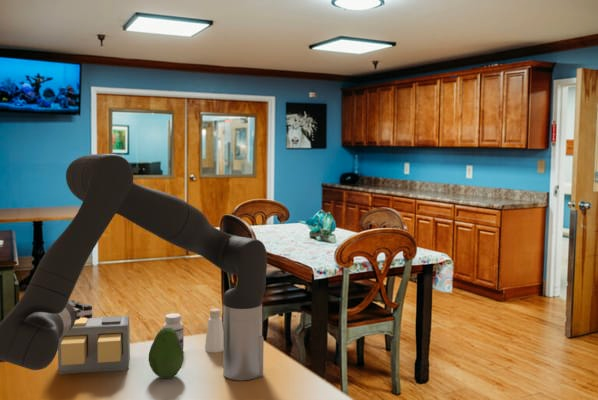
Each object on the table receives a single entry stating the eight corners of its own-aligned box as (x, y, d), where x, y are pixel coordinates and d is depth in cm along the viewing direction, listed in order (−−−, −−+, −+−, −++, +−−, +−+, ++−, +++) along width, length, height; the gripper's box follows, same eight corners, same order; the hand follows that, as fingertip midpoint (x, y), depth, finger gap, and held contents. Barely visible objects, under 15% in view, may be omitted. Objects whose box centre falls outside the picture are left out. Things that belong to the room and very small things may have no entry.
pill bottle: (160, 348, 158) (160, 313, 158) (180, 346, 161) (180, 311, 160) (165, 355, 154) (165, 319, 153) (185, 352, 156) (185, 317, 155)
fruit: (149, 385, 134) (148, 334, 133) (148, 372, 142) (147, 324, 141) (184, 382, 137) (184, 332, 135) (182, 369, 144) (181, 322, 143)
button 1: (88, 351, 144) (88, 331, 144) (84, 363, 137) (83, 342, 136) (66, 353, 143) (66, 333, 143) (61, 365, 135) (60, 344, 135)
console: (129, 357, 152) (129, 313, 151) (128, 369, 144) (127, 323, 143) (63, 361, 148) (62, 316, 147) (58, 374, 140) (57, 326, 139)
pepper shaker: (203, 352, 156) (202, 312, 155) (206, 345, 162) (206, 306, 160) (223, 353, 156) (223, 312, 155) (226, 346, 161) (226, 307, 160)
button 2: (122, 349, 146) (122, 329, 146) (120, 361, 138) (119, 340, 138) (101, 350, 145) (100, 331, 145) (97, 362, 137) (97, 341, 137)
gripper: (86, 301, 116) (101, 287, 133) (14, 303, 113) (39, 288, 131) (86, 339, 116) (101, 320, 133) (14, 342, 114) (39, 322, 131)
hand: (70, 304), depth 132 cm, fingers closed
